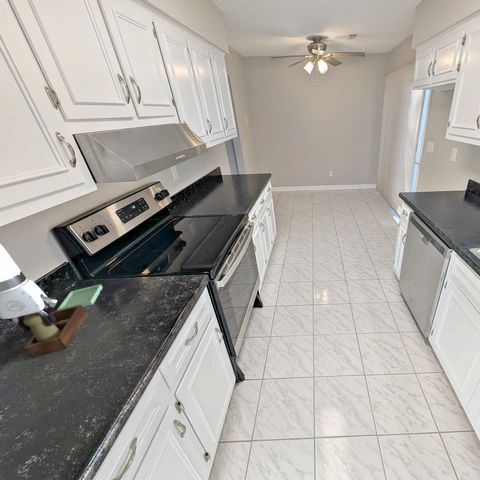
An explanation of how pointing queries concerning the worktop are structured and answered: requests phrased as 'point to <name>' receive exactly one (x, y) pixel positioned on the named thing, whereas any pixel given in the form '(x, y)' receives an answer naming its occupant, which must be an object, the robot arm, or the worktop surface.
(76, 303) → the tray
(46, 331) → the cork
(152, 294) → the worktop surface
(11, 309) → the robot arm
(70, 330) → the caddy
